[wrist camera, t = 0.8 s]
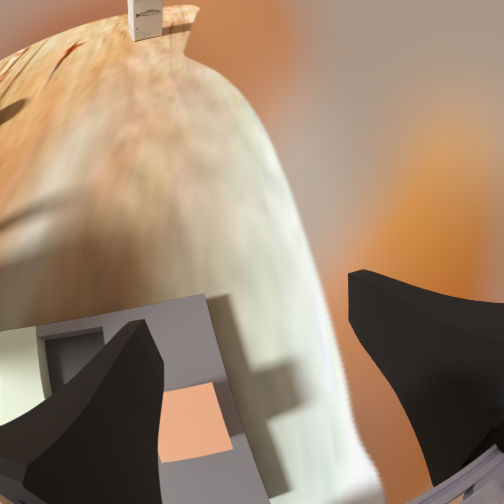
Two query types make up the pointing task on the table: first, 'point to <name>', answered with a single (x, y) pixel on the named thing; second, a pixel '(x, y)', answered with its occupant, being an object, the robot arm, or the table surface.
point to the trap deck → (175, 377)
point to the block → (191, 424)
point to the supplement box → (145, 18)
